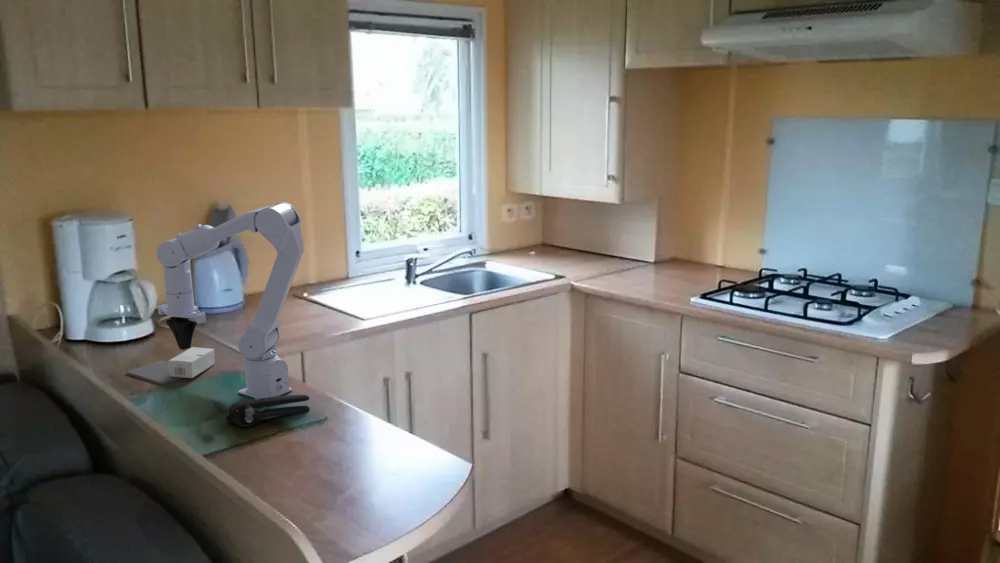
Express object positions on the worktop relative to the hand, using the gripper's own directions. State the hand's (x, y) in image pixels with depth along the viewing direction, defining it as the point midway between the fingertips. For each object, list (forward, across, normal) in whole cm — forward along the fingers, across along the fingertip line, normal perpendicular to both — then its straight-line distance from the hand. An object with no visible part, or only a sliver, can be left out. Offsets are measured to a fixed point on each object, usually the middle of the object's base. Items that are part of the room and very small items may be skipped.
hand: (185, 348), depth 184 cm
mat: (+10, +14, -3) cm, 17 cm away
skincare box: (+7, +5, -2) cm, 9 cm away
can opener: (+10, -29, +2) cm, 31 cm away
